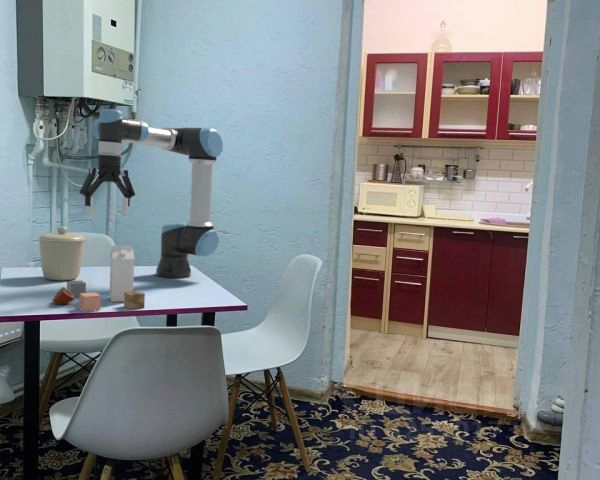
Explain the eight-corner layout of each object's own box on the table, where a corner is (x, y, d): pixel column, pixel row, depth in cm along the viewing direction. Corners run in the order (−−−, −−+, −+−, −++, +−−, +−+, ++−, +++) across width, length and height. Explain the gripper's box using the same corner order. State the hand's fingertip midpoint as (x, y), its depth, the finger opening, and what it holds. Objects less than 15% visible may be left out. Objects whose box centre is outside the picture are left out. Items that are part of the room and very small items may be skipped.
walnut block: (138, 305, 193) (138, 290, 193) (144, 308, 190) (144, 293, 189) (124, 306, 190) (124, 291, 190) (129, 309, 186) (130, 294, 186)
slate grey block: (81, 294, 204) (81, 280, 203) (85, 297, 200) (85, 283, 200) (66, 295, 201) (66, 281, 200) (70, 298, 197) (71, 283, 196)
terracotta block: (94, 307, 186) (95, 292, 186) (100, 310, 182) (100, 295, 182) (79, 308, 183) (79, 293, 183) (84, 312, 179) (84, 296, 179)
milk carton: (109, 297, 201) (111, 244, 199) (130, 297, 204) (132, 244, 202) (111, 302, 195) (113, 247, 193) (132, 301, 198) (134, 247, 195)
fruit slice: (53, 301, 191) (53, 286, 191) (74, 300, 193) (75, 286, 193) (51, 306, 183) (52, 291, 183) (74, 306, 186) (74, 291, 185)
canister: (93, 276, 237) (94, 226, 235) (71, 284, 219) (72, 230, 217) (51, 273, 238) (52, 223, 236) (27, 280, 221) (27, 226, 218)
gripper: (134, 157, 209) (131, 214, 211) (70, 151, 190) (68, 214, 192) (146, 157, 205) (144, 216, 207) (81, 152, 185) (79, 216, 187)
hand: (107, 215), depth 199 cm, fingers open, 13 cm apart
